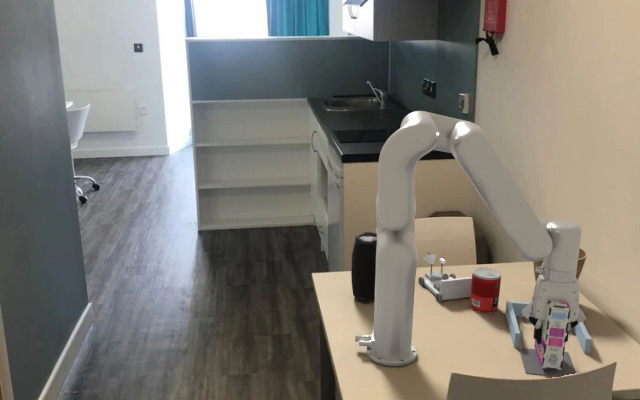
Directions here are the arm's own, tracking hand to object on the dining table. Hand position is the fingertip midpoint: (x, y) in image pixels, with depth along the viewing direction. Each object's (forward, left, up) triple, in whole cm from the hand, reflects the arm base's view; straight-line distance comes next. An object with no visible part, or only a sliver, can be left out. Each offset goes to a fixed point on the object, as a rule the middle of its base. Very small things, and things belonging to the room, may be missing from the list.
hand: (549, 341), depth 158 cm
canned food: (-13, +28, -6) cm, 32 cm away
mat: (0, 0, -6) cm, 6 cm away
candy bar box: (0, 0, -5) cm, 5 cm away
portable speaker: (-47, +28, -6) cm, 55 cm away
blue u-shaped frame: (+2, +15, -6) cm, 17 cm away
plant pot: (+8, +37, -6) cm, 39 cm away
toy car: (-24, +39, -6) cm, 46 cm away
